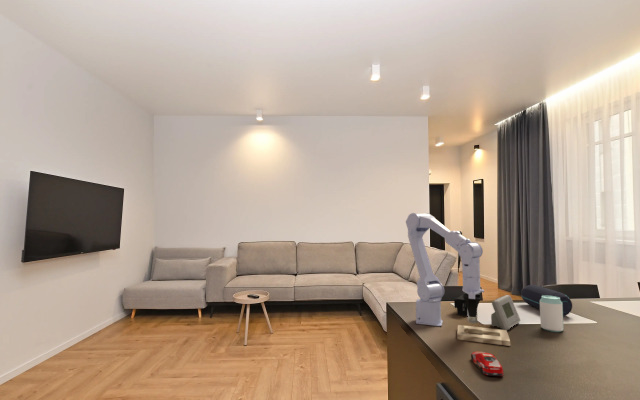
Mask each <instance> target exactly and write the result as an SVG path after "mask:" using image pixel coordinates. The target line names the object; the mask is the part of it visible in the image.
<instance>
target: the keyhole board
mask: <svg viewBox="0 0 640 400" xmlns="http://www.w3.org/2000/svg"><path fill="white" fill-rule="evenodd" d="M456 339H457V340H460V341H469V342H477V343H485V344H493V345H499V346H508V347H511V340H510V336H509V333H508V330H503V329H498V328H490V327H489V328H488V327H481V326H479V327H478V326H472V325H471V326H470V325H463V324H462V325H461V324H457V333H456Z"/></svg>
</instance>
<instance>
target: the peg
mask: <svg viewBox="0 0 640 400" xmlns="http://www.w3.org/2000/svg"><path fill="white" fill-rule="evenodd" d="M467 316H468V317H467ZM467 316H466V317H467V323H468V324H469V323H470V324H478V313H477V314H476V317H469V314H468V309H467Z"/></svg>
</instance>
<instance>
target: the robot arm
mask: <svg viewBox="0 0 640 400" xmlns="http://www.w3.org/2000/svg"><path fill="white" fill-rule="evenodd" d="M405 224H406V228H407V237H408V242H409V244H410V248H411V252H412V255H413V258H414V261H415V266H416V268H417V272H418V275H419V278H418V280H417V281H416V286H417V288H416V289H417V290H416V292H417V295H418V297H419V298H417V299H416V300H415V323H416V324H417V325H426V326H433V327H434V326H435V327H442V325H443V319H442V309H441V301H442V298H443V296H444V295H445V287H444V285H443V284H442V282H441V281H440V278H439V277H437V276H436V275H435V273H434V271H433V269H432V265H431V261H430V259H429V255H428V252H427V249H426V246H425V243H424V239H423V236H424V235H425V234H426V233H427V232H428V231H429V229H430V230H432V231H433V232H435V233H436V234H438V235H439V236H441V237H442V238H444V242H445V244H448V246H450V247H451V248H452V249H454V250H455V251H456V252H457V253H458V255H459V257H460V260H461V261H460V262H461V263H462V264H461V267H462V289H461V290H462V291H463V294H462V295H463V298H464V300H465V302H466V305H467V309H468V314H469V317H476V314H477V315H478V307H479V305H480V301H481V300H482V298H481V294H480V293H485V289H481V267H480V266H481V265H480V258H481V257H482V255H483V251H484V250H483V248H482V246H481V244H480V243H478V242H477V241H476V242H475V241H471V239H470V238H466V237H465V236H464V235H462V234H461V232H460V231H459V230H450V229H448V228H447V227H446V226H445V225H444V224H442V223H441V222H440V221H439V220H438V219H436V217H435V216H433V215H432V214H430V213H428V212H427V213H425V212H424V213H415V212H411V213H409V214H408V216H407V218H406V220H405Z"/></svg>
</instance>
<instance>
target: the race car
mask: <svg viewBox="0 0 640 400" xmlns="http://www.w3.org/2000/svg"><path fill="white" fill-rule="evenodd" d="M470 357H471V361H472V362H473V364H475V365H476V367H477V368H478V369H479V370H480V372H481V373H482V374H484V375H485V376H489V377H491V376H492V377H503V376H504V368H503V366H502V364H501V363H500V361H499V360H498V359H497V357H495V354H492V353H489V352H484V351H477V350H476V351H473V352H472V353H471V354H470Z"/></svg>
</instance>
